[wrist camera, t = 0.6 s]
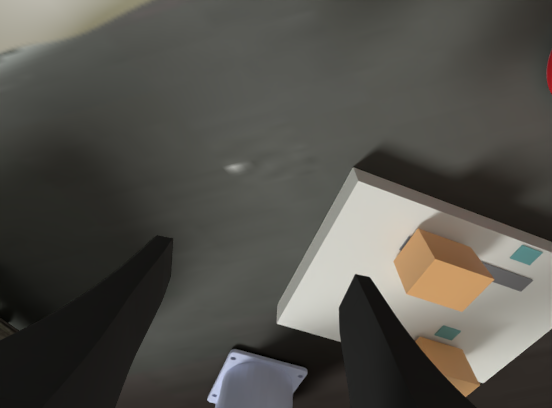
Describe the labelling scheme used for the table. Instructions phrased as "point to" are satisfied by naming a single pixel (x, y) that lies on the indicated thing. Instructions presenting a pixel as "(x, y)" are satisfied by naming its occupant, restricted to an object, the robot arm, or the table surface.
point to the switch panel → (381, 269)
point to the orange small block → (441, 271)
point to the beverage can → (549, 72)
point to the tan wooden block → (450, 364)
